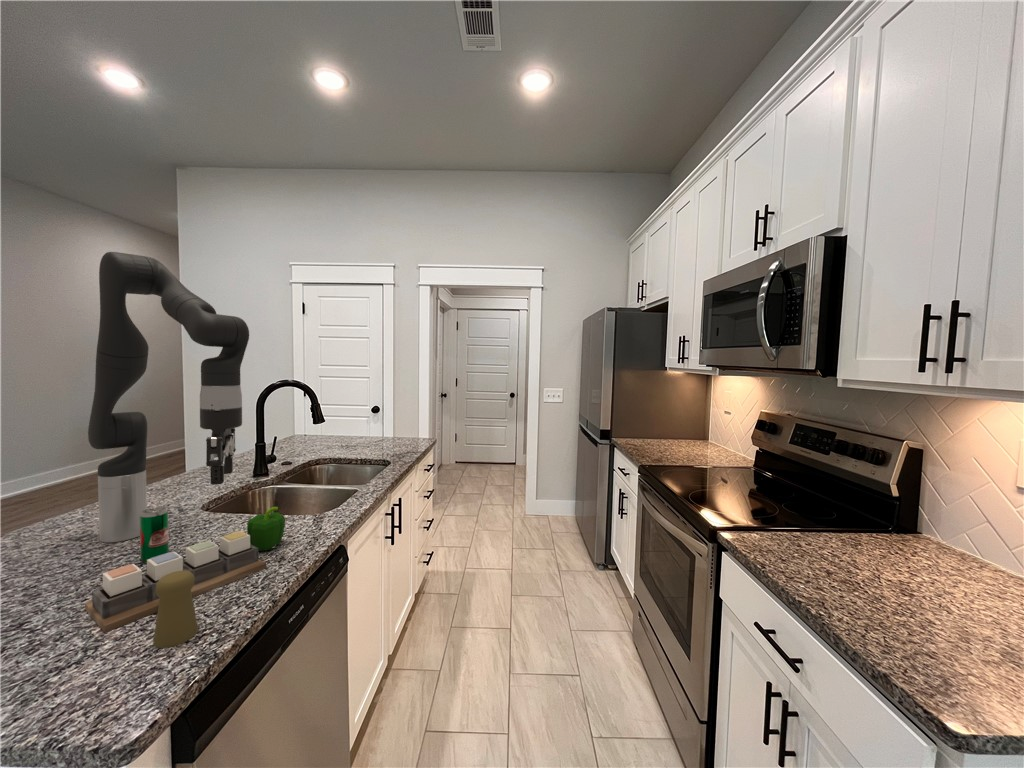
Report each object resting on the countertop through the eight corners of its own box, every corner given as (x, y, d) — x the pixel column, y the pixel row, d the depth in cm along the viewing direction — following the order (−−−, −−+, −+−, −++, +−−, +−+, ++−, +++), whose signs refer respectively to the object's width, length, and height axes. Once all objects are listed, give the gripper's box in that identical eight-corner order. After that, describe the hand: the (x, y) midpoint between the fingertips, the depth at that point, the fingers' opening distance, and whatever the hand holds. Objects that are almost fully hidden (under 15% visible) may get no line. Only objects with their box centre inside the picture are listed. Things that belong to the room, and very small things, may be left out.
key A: (185, 561, 86) (185, 546, 86) (209, 553, 90) (209, 539, 90) (194, 567, 84) (194, 552, 84) (218, 559, 88) (218, 544, 87)
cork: (170, 625, 72) (170, 565, 72) (206, 624, 73) (205, 565, 72) (143, 648, 66) (141, 584, 66) (181, 647, 67) (180, 583, 66)
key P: (219, 550, 92) (219, 536, 91) (240, 543, 95) (240, 529, 95) (228, 555, 89) (228, 541, 89) (250, 548, 93) (250, 534, 93)
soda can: (151, 564, 93) (151, 514, 92) (134, 562, 94) (133, 512, 93) (174, 554, 98) (173, 506, 97) (157, 552, 99) (156, 504, 98)
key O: (102, 588, 75) (102, 571, 75) (134, 578, 79) (133, 562, 79) (110, 596, 73) (110, 579, 73) (142, 585, 77) (141, 568, 77)
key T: (147, 574, 81) (146, 558, 81) (174, 565, 85) (174, 550, 84) (155, 580, 78) (155, 564, 78) (182, 571, 82) (182, 555, 82)
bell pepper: (244, 557, 98) (244, 517, 97) (249, 543, 105) (248, 506, 104) (284, 550, 101) (284, 512, 101) (285, 537, 109) (285, 501, 108)
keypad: (84, 609, 76) (84, 587, 76) (241, 553, 99) (240, 537, 99) (104, 632, 70) (103, 609, 70) (266, 568, 93) (266, 550, 93)
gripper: (209, 403, 93) (210, 472, 93) (190, 410, 80) (191, 489, 80) (247, 402, 96) (248, 469, 97) (235, 409, 83) (235, 486, 84)
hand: (222, 478), depth 88 cm, fingers open, 8 cm apart
